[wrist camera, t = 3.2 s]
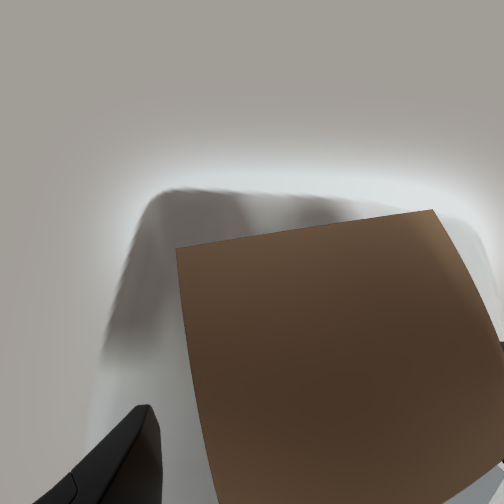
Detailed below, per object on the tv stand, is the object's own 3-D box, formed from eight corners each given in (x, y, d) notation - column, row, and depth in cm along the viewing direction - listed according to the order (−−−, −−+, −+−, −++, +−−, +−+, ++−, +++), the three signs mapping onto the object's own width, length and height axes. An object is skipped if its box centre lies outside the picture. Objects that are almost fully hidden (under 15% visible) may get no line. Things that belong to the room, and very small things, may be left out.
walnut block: (336, 449, 14) (527, 437, 3) (243, 473, 13) (239, 575, 2) (313, 367, 16) (432, 209, 6) (224, 386, 16) (175, 248, 5)
